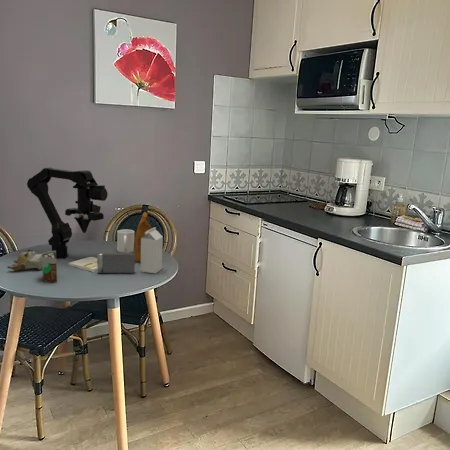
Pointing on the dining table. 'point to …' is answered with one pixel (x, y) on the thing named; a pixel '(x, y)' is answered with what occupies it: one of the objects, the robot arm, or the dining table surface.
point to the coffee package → (140, 236)
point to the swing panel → (115, 262)
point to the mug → (125, 241)
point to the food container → (49, 266)
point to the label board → (85, 264)
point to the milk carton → (151, 251)
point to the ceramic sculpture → (27, 261)
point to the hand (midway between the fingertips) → (84, 232)
